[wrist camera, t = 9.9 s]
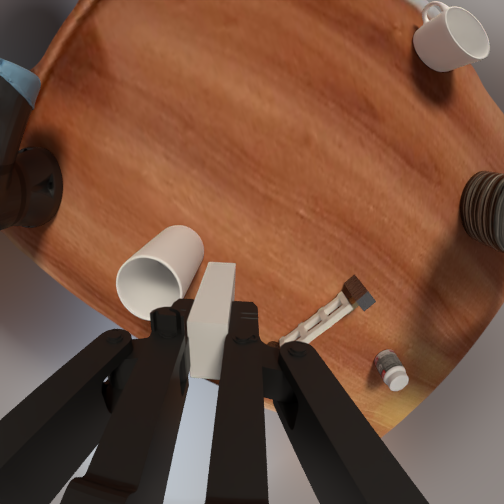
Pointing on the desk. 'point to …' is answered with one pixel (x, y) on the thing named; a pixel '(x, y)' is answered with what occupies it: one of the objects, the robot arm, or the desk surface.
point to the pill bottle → (391, 370)
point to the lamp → (484, 209)
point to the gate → (320, 315)
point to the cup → (160, 271)
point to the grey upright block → (358, 294)
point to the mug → (450, 39)
